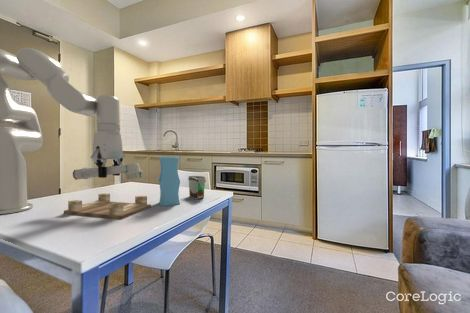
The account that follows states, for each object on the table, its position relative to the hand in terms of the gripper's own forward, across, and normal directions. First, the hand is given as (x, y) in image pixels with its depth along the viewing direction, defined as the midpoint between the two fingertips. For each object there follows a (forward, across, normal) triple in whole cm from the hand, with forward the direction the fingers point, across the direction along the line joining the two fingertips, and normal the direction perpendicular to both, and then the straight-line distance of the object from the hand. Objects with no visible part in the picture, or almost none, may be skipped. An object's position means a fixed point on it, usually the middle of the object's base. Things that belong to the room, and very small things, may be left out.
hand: (109, 175), depth 85 cm
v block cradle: (+13, 0, 0) cm, 13 cm away
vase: (+14, -16, +16) cm, 26 cm away
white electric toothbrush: (+2, 0, 0) cm, 2 cm away
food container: (+14, -30, +24) cm, 41 cm away
